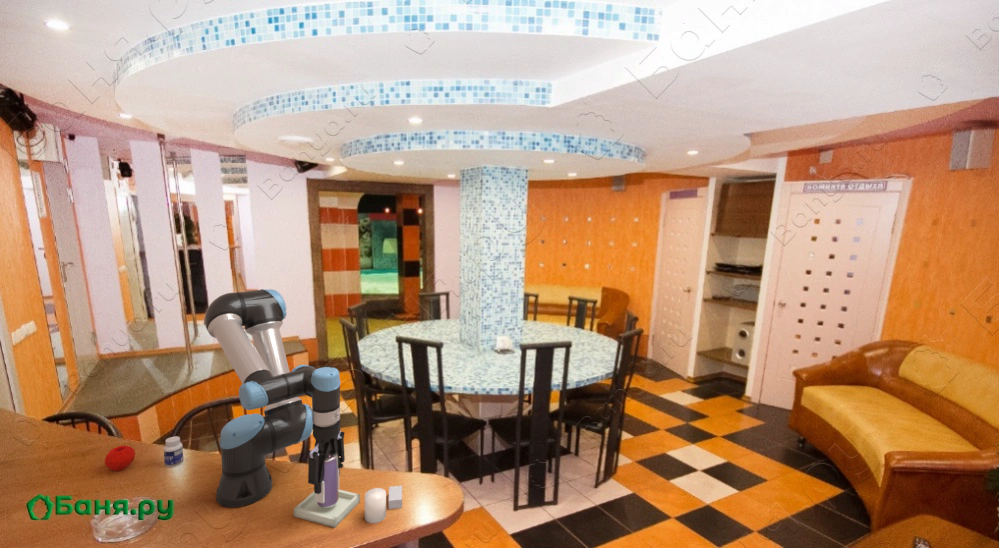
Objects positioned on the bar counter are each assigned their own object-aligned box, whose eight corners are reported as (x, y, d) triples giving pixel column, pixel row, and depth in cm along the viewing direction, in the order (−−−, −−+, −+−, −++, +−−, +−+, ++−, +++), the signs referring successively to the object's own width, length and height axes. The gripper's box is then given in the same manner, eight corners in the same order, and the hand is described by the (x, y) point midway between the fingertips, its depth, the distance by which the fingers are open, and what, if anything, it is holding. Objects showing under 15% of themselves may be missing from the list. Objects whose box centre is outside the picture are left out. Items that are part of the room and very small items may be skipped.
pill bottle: (160, 466, 149) (158, 441, 148) (174, 458, 154) (173, 434, 153) (173, 468, 148) (171, 444, 146) (187, 460, 153) (186, 436, 152)
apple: (140, 466, 148) (139, 446, 147) (110, 478, 141) (108, 456, 140) (131, 459, 152) (129, 439, 151) (101, 469, 146) (99, 448, 145)
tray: (293, 516, 127) (293, 508, 127) (321, 491, 139) (321, 484, 138) (334, 527, 123) (334, 520, 123) (359, 501, 135) (359, 494, 134)
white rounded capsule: (360, 520, 127) (360, 498, 126) (372, 507, 132) (372, 486, 131) (378, 525, 125) (378, 502, 124) (389, 512, 131) (390, 490, 130)
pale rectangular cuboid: (389, 495, 139) (389, 486, 138) (402, 494, 140) (402, 485, 139) (388, 510, 132) (388, 500, 132) (402, 508, 133) (402, 499, 132)
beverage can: (331, 510, 127) (330, 462, 125) (312, 507, 128) (311, 459, 126) (342, 497, 133) (341, 451, 131) (324, 494, 134) (323, 449, 132)
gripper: (314, 439, 117) (316, 518, 120) (357, 410, 135) (357, 479, 138) (291, 434, 119) (293, 512, 122) (336, 406, 137) (337, 474, 140)
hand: (327, 494), depth 130 cm, fingers closed on beverage can, 6 cm apart
